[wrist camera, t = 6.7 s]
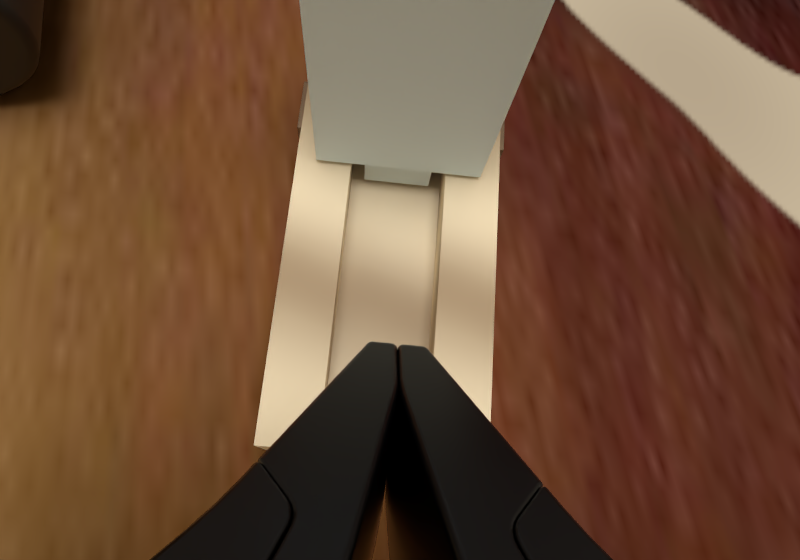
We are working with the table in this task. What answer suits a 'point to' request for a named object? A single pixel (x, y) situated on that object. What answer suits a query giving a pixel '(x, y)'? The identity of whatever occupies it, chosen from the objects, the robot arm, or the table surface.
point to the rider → (415, 81)
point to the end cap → (19, 41)
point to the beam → (379, 277)
